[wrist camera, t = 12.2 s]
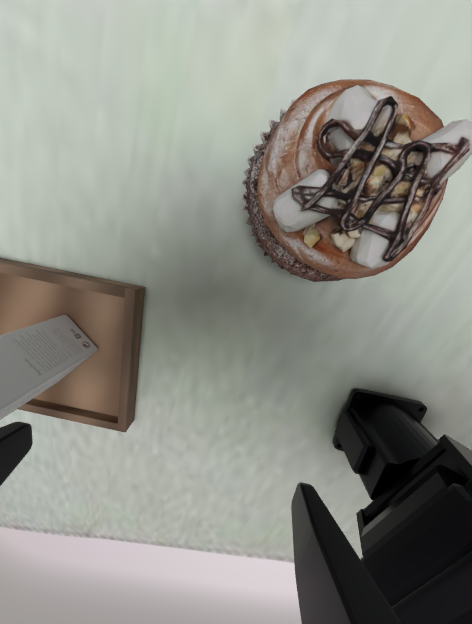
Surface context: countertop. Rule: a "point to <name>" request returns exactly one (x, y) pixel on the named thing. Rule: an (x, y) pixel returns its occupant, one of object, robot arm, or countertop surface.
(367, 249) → the cupcake
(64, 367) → the skincare box
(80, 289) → the brown square tray
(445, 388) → the countertop surface
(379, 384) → the countertop surface
